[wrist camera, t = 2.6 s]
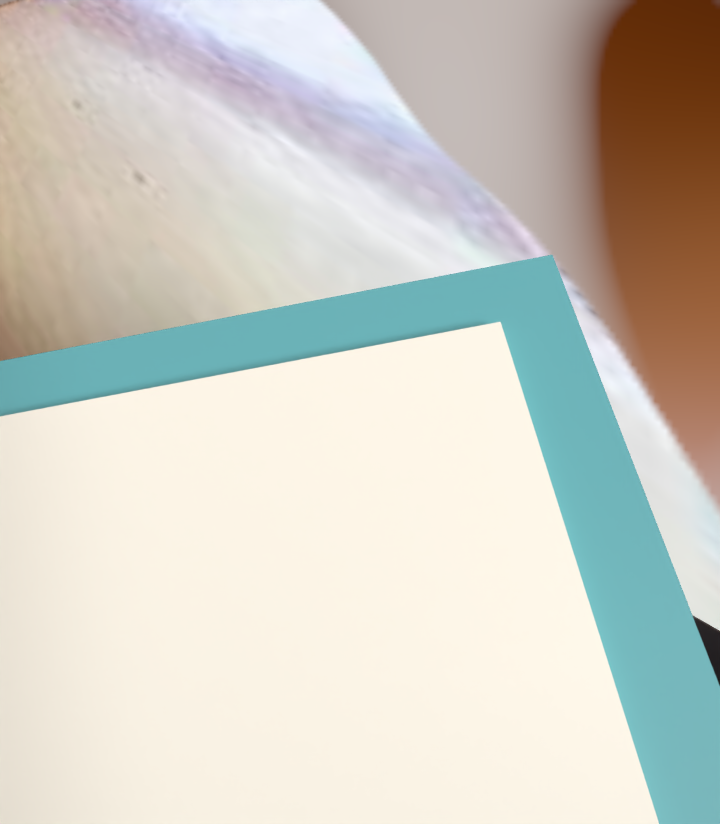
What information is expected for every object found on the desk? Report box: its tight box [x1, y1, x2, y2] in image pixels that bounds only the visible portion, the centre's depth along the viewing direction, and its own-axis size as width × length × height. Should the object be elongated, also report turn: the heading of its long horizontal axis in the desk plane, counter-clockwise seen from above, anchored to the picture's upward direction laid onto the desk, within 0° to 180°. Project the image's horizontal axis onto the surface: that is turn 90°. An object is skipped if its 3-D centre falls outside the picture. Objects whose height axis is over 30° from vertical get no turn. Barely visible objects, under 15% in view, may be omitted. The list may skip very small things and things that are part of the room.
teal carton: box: [0, 255, 720, 824], centre depth 9 cm, size 5×6×13 cm
